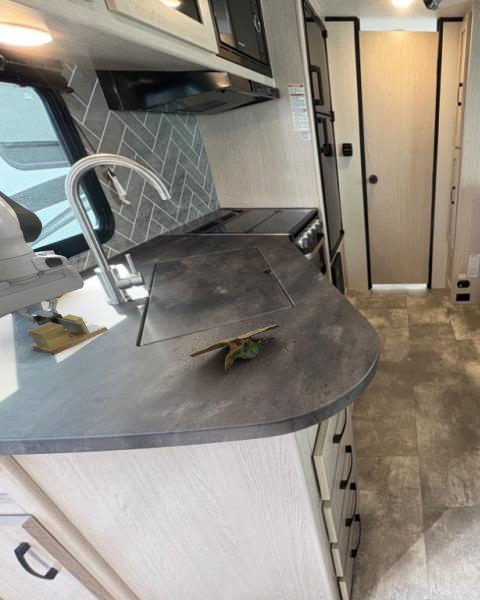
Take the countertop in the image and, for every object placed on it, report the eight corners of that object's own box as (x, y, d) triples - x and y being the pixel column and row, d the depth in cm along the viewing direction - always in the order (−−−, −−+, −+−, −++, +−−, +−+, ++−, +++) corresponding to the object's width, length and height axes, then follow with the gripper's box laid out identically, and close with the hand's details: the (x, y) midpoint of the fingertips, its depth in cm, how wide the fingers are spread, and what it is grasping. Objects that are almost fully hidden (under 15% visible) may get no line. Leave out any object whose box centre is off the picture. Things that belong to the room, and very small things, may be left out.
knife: (38, 324, 80) (31, 313, 78) (49, 320, 82) (42, 309, 80) (81, 337, 74) (74, 325, 72) (92, 332, 76) (85, 320, 74)
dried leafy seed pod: (243, 360, 78) (237, 330, 77) (293, 353, 74) (287, 321, 73) (174, 386, 60) (166, 347, 60) (235, 379, 56) (226, 337, 56)
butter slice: (70, 331, 78) (61, 317, 76) (77, 328, 79) (69, 314, 77) (82, 334, 76) (74, 320, 74) (89, 331, 77) (81, 317, 76)
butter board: (32, 348, 73) (20, 330, 71) (87, 325, 82) (78, 308, 80) (53, 355, 71) (41, 336, 68) (107, 329, 80) (98, 312, 78)
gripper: (-48, 286, 63) (-7, 343, 70) (73, 255, 81) (98, 302, 87) (-64, 283, 65) (-22, 338, 72) (58, 252, 82) (83, 299, 89)
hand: (44, 318), depth 79 cm, fingers closed on knife, 2 cm apart
